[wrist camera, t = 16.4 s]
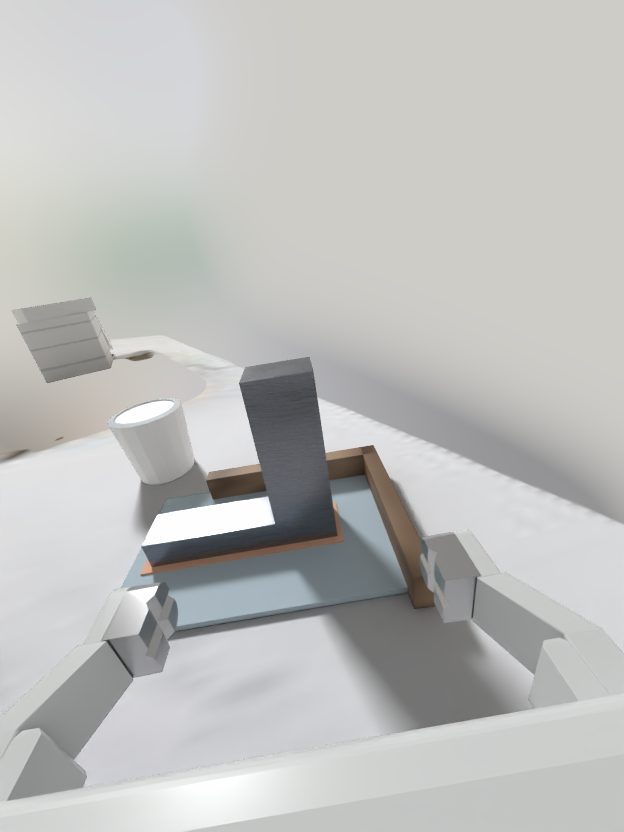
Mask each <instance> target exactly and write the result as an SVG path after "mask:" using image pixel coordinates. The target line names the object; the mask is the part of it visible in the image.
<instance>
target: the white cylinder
mask: <svg viewBox="0 0 624 832" xmlns="http://www.w3.org/2000/svg"><path fill="white" fill-rule="evenodd" d="M107 424H108V425H109V427H110V429H111V430H112V432H113V434H114V435H115V437H116V439H117V440H118V442H119V444H120V445H121V447H122V449H123V450H124V452H125V454H126V455H127V457H128V459H129V460H130V462H131V464H132V465H133V467H134V469H135V470H136V472H137V474H138V475H139V477H140V479H141V480H142V482H143V483H145V484H149V485H157V484H163V483H167V482H170V481H173V480H175V479H177V478H179V477H181V476H183V475H184V474H185V473H187V472H188V471H189V470H190V469H191V468H192V466H193V465H194V460H195V459H194V455H193V450H192V446H191V442H190V438H189V434H188V430H187V425H186V421H185V417H184V413H183V409H182V404H181V401H179V400H178V399H173V398H164V399H156V400H151V401H147V402H144V403H140V404H137V405H134V406H131V407H129V408H127V409H125V410H123V411H121V412H119V413H117V414H116V415H114V416H113V417H112V418H110V420H109V421H108V423H107Z"/></svg>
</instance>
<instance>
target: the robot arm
mask: <svg viewBox="0 0 624 832" xmlns="http://www.w3.org/2000/svg"><path fill="white" fill-rule="evenodd" d="M420 548H421V550H422V552H423V553H422V554H421V556H420V566H421V571H422V575H423V578H424V581H425V583H426V585H427V588H428V589H430V590H431V591H432V592H434V603H435V606H436V608H437V610H438V612H439V614H440V617H441V619H442V621H443V623H450V622H457V621H464V620H471V619H473V622H474V623H475V624H477V625H478V626H479V627H480V628H481V629H482V630H483V631H485V632H486V633H487V634H488V635H489V636H490V637H491V638H493V639H494V640H495V641H496V642H497V643H498V644H499V645H501V646H502V647H503V648H504V649H505V650H506V651H508V652H509V653H510V654H511V655H512V656H513V657H514V658H516V659H517V660H518V661H519V662H520V663H521V664H522V665H524V666H525V667H526V668H527V669H528V670H529V671H530V672H532V673H533V674H534V679H533V683H532V687H531V691H530V694H529V698H528V700H529V702H530V703H531V705H532V707H533V709H530V710H524V711H518V712H513V713H507V714H501V715H495V716H490V717H484V718H478V719H473V720H467V721H461V722H455V723H450V724H444V725H438V726H432V727H427V728H421V729H415V730H409V731H404V732H398V733H392V734H387V735H381V736H375V737H369V738H364V739H358V740H352V741H347V742H341V743H335V744H329V745H324V746H318V747H312V748H307V749H301V750H295V751H289V752H284V753H278V754H272V755H267V756H261V757H255V758H249V759H244V760H238V761H232V762H227V763H221V764H215V765H210V766H204V767H198V768H192V769H187V770H181V771H175V772H170V773H164V774H158V775H152V776H147V777H141V778H135V779H130V780H124V781H118V782H113V783H107V784H101V785H95V786H90V787H84V788H83V785H84V783H85V780H86V778H87V776H86V772H85V770H84V769H83V768H82V767H81V766H80V765H78V764H77V763H76V762H75V761H74V759H75V758H76V756H77V755H78V754H79V752H80V751H81V750H82V748H83V747H84V746H85V744H86V743H87V742H88V740H89V739H90V738H91V736H92V735H93V734H94V732H95V731H96V730H97V728H98V727H99V726H100V724H101V723H102V721H103V720H104V719H105V717H106V716H107V715H108V713H109V712H110V711H111V709H112V708H113V707H114V705H115V704H116V703H117V701H118V700H119V699H120V697H121V696H122V695H123V693H124V692H125V691H126V689H127V688H128V686H129V685H130V684H131V682H132V681H133V678H135V677H140V676H145V675H150V674H155V673H160V672H162V671H163V668H164V665H165V662H166V658H167V655H168V652H169V649H170V646H169V643H168V641H167V640H168V639H169V638H170V636H171V635H172V634H173V633H174V632H175V629H176V625H177V622H178V607H177V603H176V601H175V599H174V598H172V597H171V596H169V595H168V592H169V587H168V586H167V584H166V582H161V583H154V584H147V585H140V586H133V587H127V588H121V589H115V590H114V591H113V592H112V593H111V594H110V595H109V597H108V599H107V601H106V603H105V604H104V606H103V608H102V610H101V612H100V614H99V615H98V617H97V619H96V621H95V623H94V625H93V627H92V628H91V630H90V632H89V634H88V636H87V638H86V639H85V641H84V643H83V645H79V646H77V647H76V648H75V649H74V650H72V651H71V652H70V653H69V654H68V655H67V656H66V657H65V658H64V659H63V660H62V661H61V662H60V663H58V664H57V665H56V666H55V667H54V668H53V669H52V670H51V671H50V672H49V673H48V674H47V675H45V676H44V677H43V678H42V679H41V680H40V681H39V682H38V683H37V684H36V685H35V686H34V687H33V688H31V689H30V690H29V691H28V692H27V693H26V694H25V695H24V696H23V697H22V698H21V699H20V700H19V701H17V702H16V703H15V704H14V705H13V706H12V707H11V708H10V709H9V710H8V711H7V712H6V713H4V714H3V715H2V716H1V717H0V832H624V653H623V652H622V651H621V649H620V648H619V647H618V646H617V645H616V644H615V643H614V641H613V640H612V639H611V638H610V637H609V636H608V635H607V634H606V632H605V631H604V630H603V629H602V628H600V627H598V626H597V625H595V624H593V623H592V622H590V621H588V620H586V619H585V618H583V617H581V616H580V615H578V614H576V613H574V612H573V611H571V610H569V609H568V608H566V607H564V606H563V605H561V604H559V603H557V602H556V601H554V600H552V599H551V598H549V597H547V596H545V595H544V594H542V593H540V592H539V591H537V590H535V589H534V588H532V587H530V586H528V585H527V584H525V583H523V582H522V581H520V580H518V579H516V578H515V577H513V576H511V575H510V574H508V573H506V572H504V573H500V571H499V570H498V568H497V567H496V566H495V564H494V563H493V561H492V560H491V559H490V557H489V556H488V554H487V553H486V552H485V550H484V549H483V547H482V546H481V545H480V543H479V542H478V540H477V539H476V538H475V536H474V535H473V533H472V532H471V531H470V530H468V529H467V530H461V531H456V532H452V533H451V532H449V533H443V534H438V535H432V536H427V537H421V538H420Z"/></svg>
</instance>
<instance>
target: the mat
mask: <svg viewBox="0 0 624 832" xmlns="http://www.w3.org/2000/svg"><path fill="white" fill-rule="evenodd" d="M329 481H330V487H331V494H332V501H333V508H334V514H335V521H336V528H337V535H338V536H336V537H330V538H324V539H318V540H312V541H306V542H300V543H294V544H288V545H282V546H276V547H270V548H264V549H258V550H252V551H246V552H240V553H234V554H228V555H222V556H216V557H210V558H204V559H198V560H192V561H186V562H180V563H174V564H168V565H162V566H156V567H151V565H150V563H149V561H148V559H147V557H146V555H145V553H144V551H143V549H142V548H141V550H140V552H139V554H138V556H137V558H136V560H135V562H134V564H133V565H132V567H131V569H130V571H129V573H128V575H127V577H126V579H125V581H124V583H123V585H122V587H121V588H127V587H133V586H140V585H147V584H154V583H161V582H166V584H167V586H168V587H169V592H168V595H169V596H171V597H172V598H174V599H175V601H176V603H177V607H178V622H177V625H176V629H175V631H179V630H185V629H191V628H197V627H203V626H209V625H215V624H221V623H227V622H233V621H239V620H245V619H251V618H257V617H263V616H269V615H275V614H281V613H286V612H292V611H298V610H304V609H310V608H316V607H322V606H328V605H334V604H340V603H346V602H352V601H358V600H364V599H370V598H376V597H382V596H388V595H394V594H400V593H406V592H408V587H407V584H406V581H405V579H404V576H403V574H402V571H401V568H400V566H399V563H398V561H397V558H396V555H395V553H394V550H393V547H392V545H391V542H390V540H389V537H388V534H387V532H386V529H385V527H384V524H383V521H382V519H381V516H380V513H379V511H378V508H377V506H376V503H375V500H374V498H373V495H372V493H371V490H370V487H369V485H368V482H367V479H366V477H365V475H360V476H354V477H348V478H341V479H335V480H329ZM262 497H268V494H267V491H263V492H257V493H251V494H244V495H238V496H232V497H226V498H220V499H214V500H213V499H212V496H211V493H210V492H207V493H201V494H195V495H189V496H183V497H177V498H171V499H166V501H165V503H164V505H163V507H162V509H161V511H160V513H159V514H165V513H171V512H177V511H183V510H189V509H195V508H201V507H207V506H213V505H219V504H225V503H231V502H237V501H244V500H250V499H256V498H262Z"/></svg>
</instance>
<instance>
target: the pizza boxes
mask: <svg viewBox="0 0 624 832" xmlns="http://www.w3.org/2000/svg"><path fill="white" fill-rule="evenodd" d="M94 310H96V308H95V306H94V303H93V301H92V299H91V298H85V299H79V300H73V301H67V302H60V303H54V304H48V305H41V306H35V307H29V308H22V309H17V310H12V312H13V314H14V316H15V318H16V319H17V321H18V323H20V324H17V327H18V329H19V331H20V332H21V335H22V336H23V338H24V340H25V342H26V344H27V346H28V348H29V350H30V351H31V353H32V355H33V357H34V359H35V361H36V363H37V365H38V367H39V369H40V371H41V372H42V374H43V376H44V378H45V380H46V382H47V383H50V382H54V381H58V380H62V379H67V378H71V377H75V376H79V375H83V374H88V373H92V372H96V371H101V370H105V369H109V368H111V366H112V361H113V357H112V355H111V352H110V350H111V349H113V348H112V345H111V342H110V340H109V338H108V336H107V335H106V333H105V331H104V329H103V327H102V326H101V324H100V322H99V320H98V318H97V317H96V315H95V314H94V312H93V311H94Z"/></svg>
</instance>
